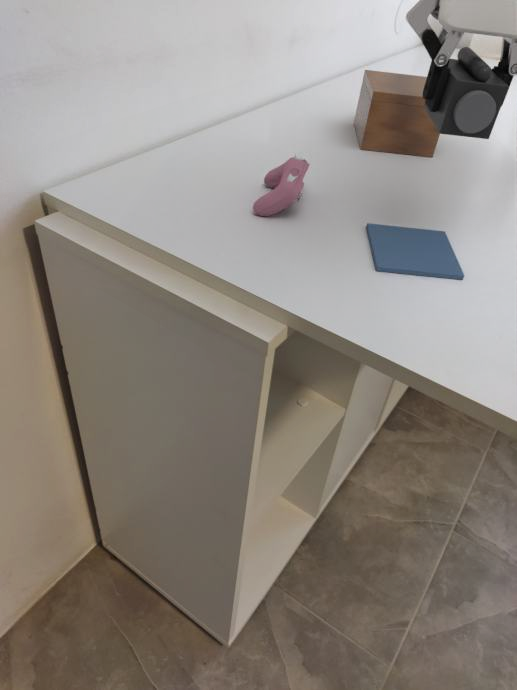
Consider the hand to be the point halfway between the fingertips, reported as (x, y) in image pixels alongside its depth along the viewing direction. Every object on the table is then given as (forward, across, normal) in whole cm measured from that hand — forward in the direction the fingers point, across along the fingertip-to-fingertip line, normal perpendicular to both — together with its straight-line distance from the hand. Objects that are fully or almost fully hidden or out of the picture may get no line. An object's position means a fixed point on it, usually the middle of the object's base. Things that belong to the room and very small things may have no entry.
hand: (458, 108), depth 53 cm
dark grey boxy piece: (+1, 0, 0) cm, 1 cm away
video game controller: (+17, +16, -9) cm, 25 cm away
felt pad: (+17, 0, 0) cm, 17 cm away
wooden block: (+16, -3, -37) cm, 41 cm away
